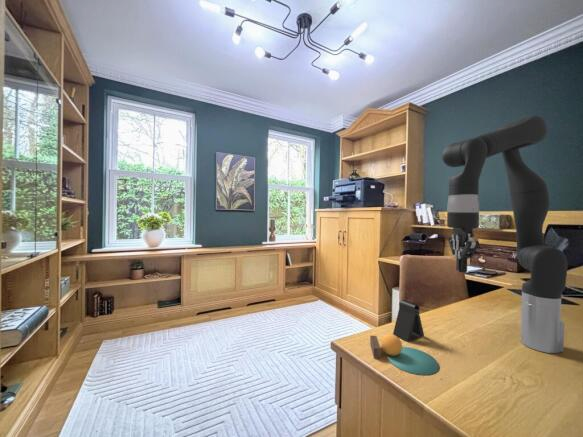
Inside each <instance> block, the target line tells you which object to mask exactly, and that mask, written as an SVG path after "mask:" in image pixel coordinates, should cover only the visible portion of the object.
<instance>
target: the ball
mask: <svg viewBox="0 0 583 437" xmlns="http://www.w3.org/2000/svg"><path fill="white" fill-rule="evenodd" d="M380 342H381V344H380V346H381V348H382V350H383V351H384V353H385V354H386V355H387V354H388V355H391V356H396V355H398V354H399V353H400V352H401V350H402V347H403V343H402V341H401V338H399V337H397V336H395V335H393V333H388V334H385V335H384V336H383V337H382V339H381V341H380Z"/></svg>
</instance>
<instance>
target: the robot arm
mask: <svg viewBox="0 0 583 437" xmlns="http://www.w3.org/2000/svg"><path fill="white" fill-rule="evenodd" d="M547 134H548V127H547V124H546V121H545V120H544V118H543V117H541V116H539V115H529V116H526V117H523V118H520V119H517V120H514V121H511V122H509V123H506V124H504V125H502V126H500V128H499V129H498V130H493V131H490V132H489V131H488V132H486V133H484V134H480V135H477V136H475V137H472V138H468V139H464V140H461V141H457V142H453V143H450V144H448V145H447V146H446V147H445V148H444V150H443V151H442V153H441V158H442V161H443V163H444V164H445V165H446V166H448V167H449V168H460V167H463V169H462V170H461V171H460V172H459V173H455V174H454V175H452V176H451V177H450V178H449V180H448V198H447V199H448V200H447V206H446V207H447V208H446V209H447V211H446V213H447V215H446V217H447V218H446V227H447V228H450V229H451V228H452V231H451V236H449V237H448V238H447V240H448V244H449V247H450V251H451V254H452V255H453V256H454V258H455V260H456V261H455V262H456V264H455V266H456V268H455V269H456V272H458V273H467V272H468V260H470V259H472V258H473V257H474V256H475V253H476V251H477V249H478V247H479V246H480V245H479V244H480V242H479V241H478V240H474V236H475V235H474V229H477V228H479V227H480V199H479V180H480V177H481V174H482V171H483V168H484V165H485V162H486V160H487V158H491V157H493V156H495V155H498V154H500V153H501V156H502V159H503V163H504V165H505V171H506V175H507V182H508V189H509V198H510V203H511V207H512V213H513V219H514V226H515V234H516V255H517V256H516V257H517V261H518V263H519V265H520V266H521V267H522V268H524V269H525V270H527V271H530V278H529V281H526V282H525V281H524V282H523V283H522V284H521V315H520V316H521V318H520V320H521V321H520V343H522V344H523V345H524V346H526V347H528V348H530V349H533V350H535V351H539V352H542V353H547V354H559V353H564V351H565V322H564V321H563V320H561V319H562V318H561V317H562V294H563V292H564V290H565V289H566V285H567V278H568V277H567V275H568V259H567V256H566V255H565V253H564V252H563V251H562V250H560V249H558V248H556V247H552V246H547V245H546V243H545V240H544V234H543V233H544V232H543V227H544V226H543V225H544V223H545V220H546V218H547V215H548V212H549V210H550V195H549V190H548V185H547V183H546V181H545V180H544V179H543V178H542V177H541V176H540V175H538V174H537V173H536V172H535V171H534V170H532V169H531V168H530V167H529V166H528V165H527V164H526V163H525V162H524V160H523V158H522V156H521V153H520V149H522V148H526V147H530V146H533V145H536V144H538V143H540V142H542V141H543V140H544V139H545V138H546V137H547Z"/></svg>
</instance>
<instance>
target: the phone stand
mask: <svg viewBox="0 0 583 437" xmlns="http://www.w3.org/2000/svg"><path fill="white" fill-rule="evenodd" d="M394 324H395V325H394V328H393V332H392V334H393V335H395V336H397V337H398V338H399V339H400V340H403V341H405V342H407V343H410V342H413V341H415V340H418V339H421V338H423V337H425V333H424V329H423V324H422V320H421V314H420V305H419V304H416V303H414V302H410V301H408V300H405V299H401V300H400V301H399V303H398V311H397V316H396V321H395V323H394Z"/></svg>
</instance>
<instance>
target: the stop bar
mask: <svg viewBox="0 0 583 437" xmlns="http://www.w3.org/2000/svg"><path fill="white" fill-rule="evenodd" d="M369 338H370V340H369V345H370V348H371V353H372V356H373V359H382V349H381V348H382V347H381V344H380V342H379V339H378V336H377V335H370V337H369Z"/></svg>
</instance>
